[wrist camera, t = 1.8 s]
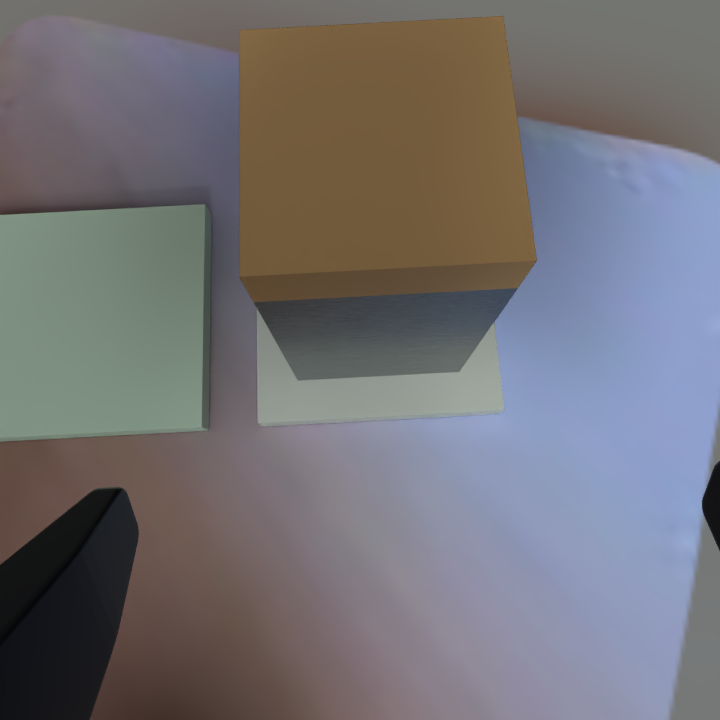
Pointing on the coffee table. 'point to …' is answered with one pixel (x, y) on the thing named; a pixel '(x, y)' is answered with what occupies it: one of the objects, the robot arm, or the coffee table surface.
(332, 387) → the stand
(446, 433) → the coffee table surface
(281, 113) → the cover
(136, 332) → the stand
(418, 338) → the base
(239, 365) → the coffee table surface
